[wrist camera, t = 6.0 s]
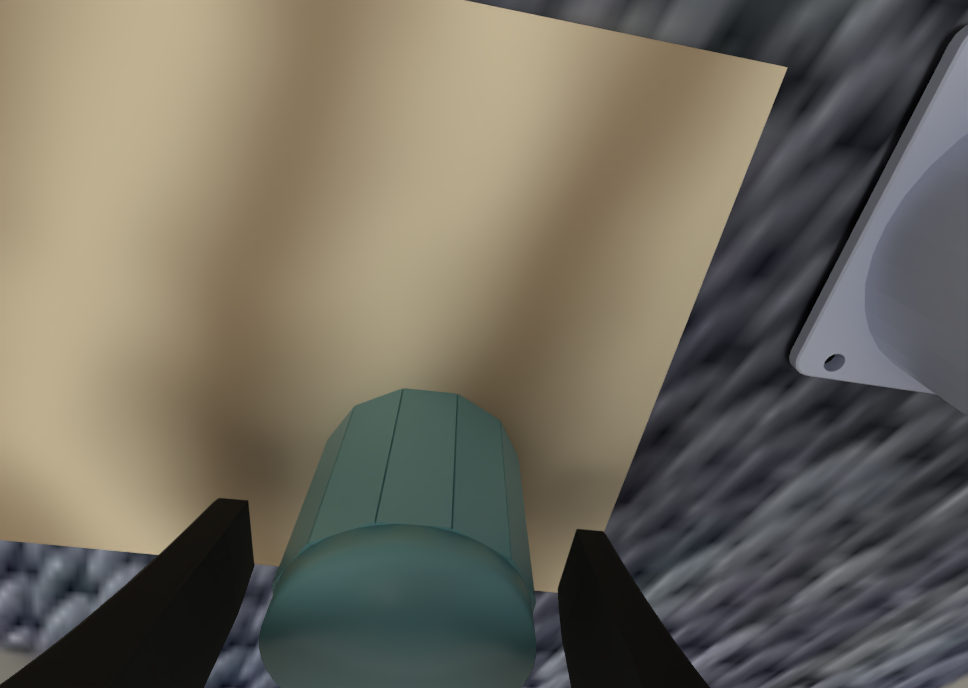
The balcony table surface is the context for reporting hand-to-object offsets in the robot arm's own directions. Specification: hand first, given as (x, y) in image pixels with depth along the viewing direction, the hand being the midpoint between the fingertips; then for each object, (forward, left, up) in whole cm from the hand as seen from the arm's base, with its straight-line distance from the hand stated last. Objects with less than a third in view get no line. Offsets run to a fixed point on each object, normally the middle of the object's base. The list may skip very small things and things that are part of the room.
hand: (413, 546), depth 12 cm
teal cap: (0, 0, -3) cm, 3 cm away
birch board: (+4, -3, -4) cm, 6 cm away
